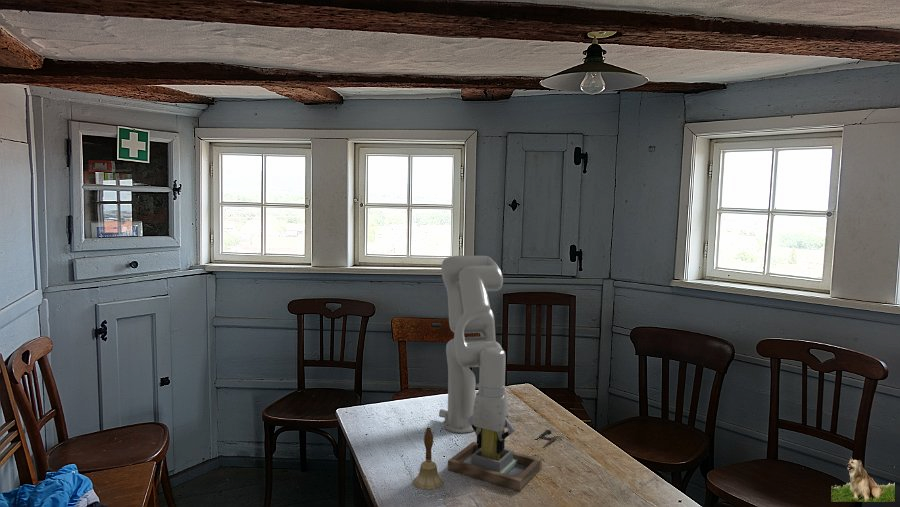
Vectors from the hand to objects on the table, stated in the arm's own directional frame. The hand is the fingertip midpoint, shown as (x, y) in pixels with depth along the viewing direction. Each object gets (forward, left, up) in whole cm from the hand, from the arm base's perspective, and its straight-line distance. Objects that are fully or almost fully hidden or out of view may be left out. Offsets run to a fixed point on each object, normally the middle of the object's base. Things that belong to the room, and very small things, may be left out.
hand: (490, 448), depth 170 cm
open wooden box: (+2, 0, -6) cm, 6 cm away
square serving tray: (+1, 0, -6) cm, 6 cm away
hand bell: (-11, -17, -6) cm, 21 cm away
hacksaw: (+8, +23, -7) cm, 25 cm away
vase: (0, 0, -4) cm, 4 cm away
